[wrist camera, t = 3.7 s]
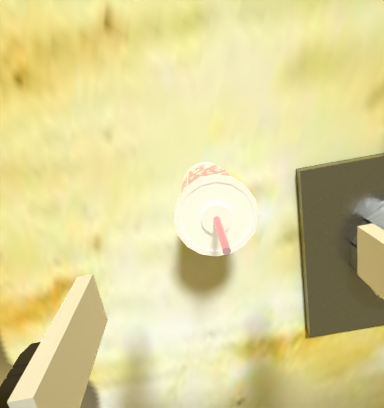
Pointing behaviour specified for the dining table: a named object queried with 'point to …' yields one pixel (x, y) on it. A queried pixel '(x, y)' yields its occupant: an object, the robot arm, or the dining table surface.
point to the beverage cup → (214, 211)
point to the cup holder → (339, 242)
